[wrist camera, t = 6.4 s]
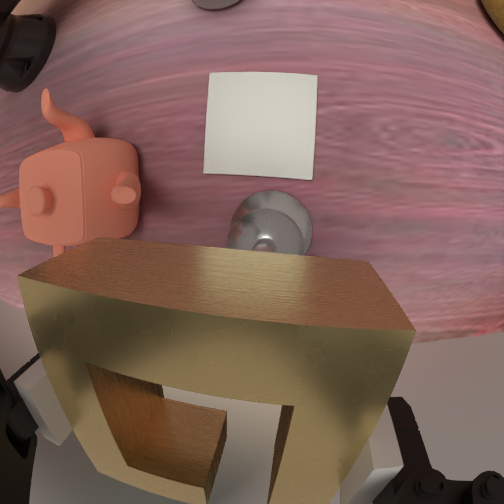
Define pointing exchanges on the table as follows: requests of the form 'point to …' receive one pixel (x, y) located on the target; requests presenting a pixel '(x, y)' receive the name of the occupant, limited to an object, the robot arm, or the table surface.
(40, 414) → the robot arm
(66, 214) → the pot
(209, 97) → the mat
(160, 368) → the link
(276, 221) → the stand
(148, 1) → the table surface
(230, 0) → the can
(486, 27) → the table surface
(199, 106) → the table surface
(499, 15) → the bread
